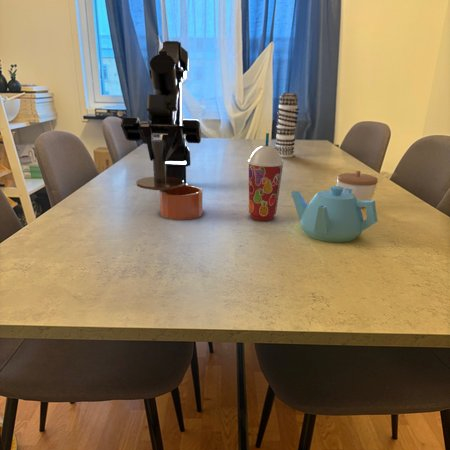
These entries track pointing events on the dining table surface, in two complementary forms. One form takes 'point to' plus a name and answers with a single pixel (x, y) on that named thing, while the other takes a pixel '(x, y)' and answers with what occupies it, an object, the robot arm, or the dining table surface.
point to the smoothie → (264, 182)
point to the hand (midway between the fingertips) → (157, 160)
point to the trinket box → (358, 184)
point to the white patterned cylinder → (286, 124)
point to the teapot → (334, 215)
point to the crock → (181, 203)
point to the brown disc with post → (159, 171)
